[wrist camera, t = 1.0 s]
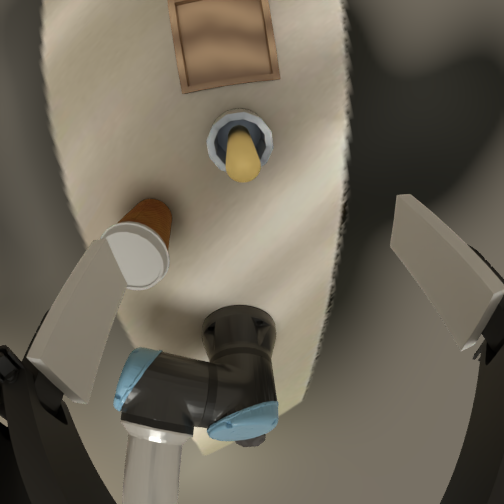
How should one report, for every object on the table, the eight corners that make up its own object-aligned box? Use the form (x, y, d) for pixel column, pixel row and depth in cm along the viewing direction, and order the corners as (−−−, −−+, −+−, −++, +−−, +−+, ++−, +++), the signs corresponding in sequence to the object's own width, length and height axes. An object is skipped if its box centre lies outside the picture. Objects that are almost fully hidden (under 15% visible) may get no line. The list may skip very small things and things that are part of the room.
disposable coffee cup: (167, 179, 37) (144, 216, 27) (191, 233, 42) (180, 283, 33) (114, 201, 38) (81, 242, 28) (140, 250, 43) (119, 299, 34)
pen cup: (268, 155, 36) (275, 169, 31) (216, 163, 37) (213, 179, 31) (262, 105, 32) (268, 108, 27) (207, 113, 33) (202, 118, 27)
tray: (277, 79, 30) (280, 79, 28) (185, 93, 31) (182, 93, 29) (263, -10, 23) (265, -16, 21) (171, 4, 23) (167, -1, 21)
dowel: (251, 143, 34) (262, 179, 22) (229, 147, 34) (228, 184, 22) (248, 123, 33) (258, 147, 20) (226, 127, 33) (222, 152, 20)
